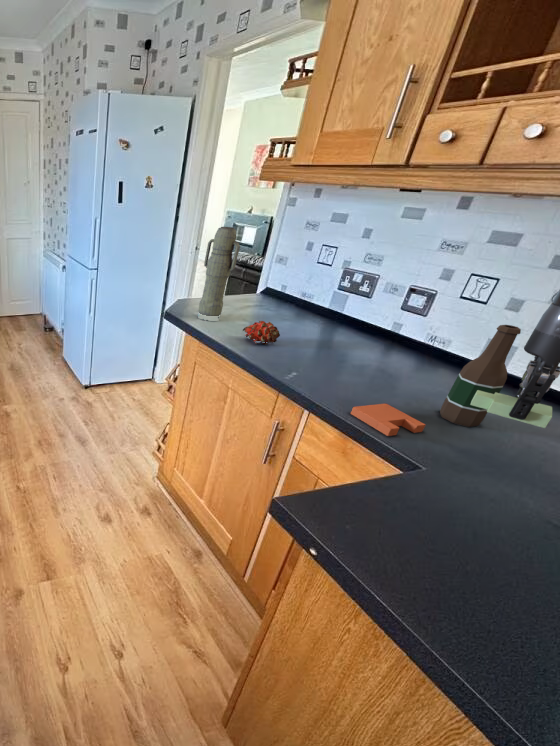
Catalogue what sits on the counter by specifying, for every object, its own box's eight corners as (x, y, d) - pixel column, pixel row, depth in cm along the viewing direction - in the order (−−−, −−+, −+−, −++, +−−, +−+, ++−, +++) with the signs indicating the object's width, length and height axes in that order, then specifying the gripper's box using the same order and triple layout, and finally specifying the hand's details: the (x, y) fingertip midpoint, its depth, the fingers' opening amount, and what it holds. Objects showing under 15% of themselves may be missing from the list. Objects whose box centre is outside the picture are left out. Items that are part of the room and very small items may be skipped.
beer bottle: (483, 421, 101) (539, 328, 90) (474, 431, 97) (531, 335, 86) (443, 408, 106) (491, 318, 95) (433, 416, 102) (482, 324, 91)
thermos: (219, 323, 163) (240, 230, 147) (190, 317, 169) (207, 226, 153) (226, 318, 169) (247, 228, 153) (198, 312, 175) (215, 225, 159)
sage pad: (472, 398, 88) (478, 387, 87) (545, 417, 81) (552, 406, 80) (469, 407, 84) (475, 396, 83) (544, 428, 77) (552, 417, 76)
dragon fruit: (277, 352, 142) (240, 348, 149) (284, 333, 145) (247, 330, 152) (276, 337, 136) (238, 333, 143) (283, 317, 138) (245, 314, 146)
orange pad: (382, 410, 105) (386, 403, 104) (422, 431, 96) (426, 424, 95) (350, 413, 103) (353, 406, 102) (387, 436, 94) (391, 428, 93)
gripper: (601, 347, 67) (544, 433, 75) (595, 328, 76) (545, 407, 84) (534, 335, 72) (487, 417, 80) (536, 318, 81) (493, 394, 89)
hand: (517, 411), depth 82 cm, fingers closed on sage pad, 6 cm apart
